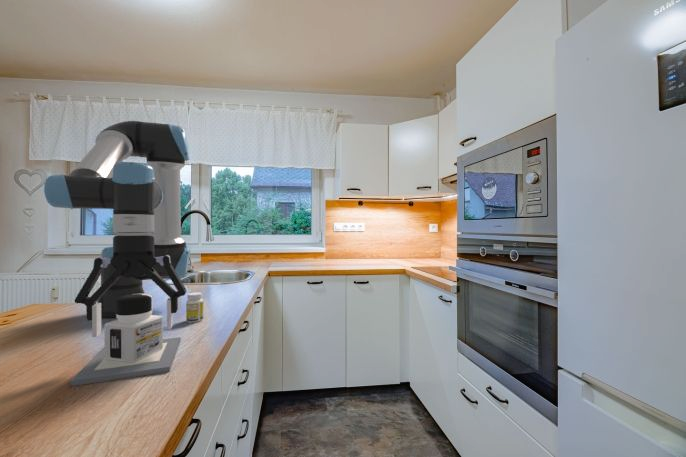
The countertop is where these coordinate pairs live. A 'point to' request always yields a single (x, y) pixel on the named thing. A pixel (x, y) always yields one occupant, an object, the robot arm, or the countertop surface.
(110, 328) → the container
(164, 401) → the countertop surface
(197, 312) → the supplement bottle
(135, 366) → the board
